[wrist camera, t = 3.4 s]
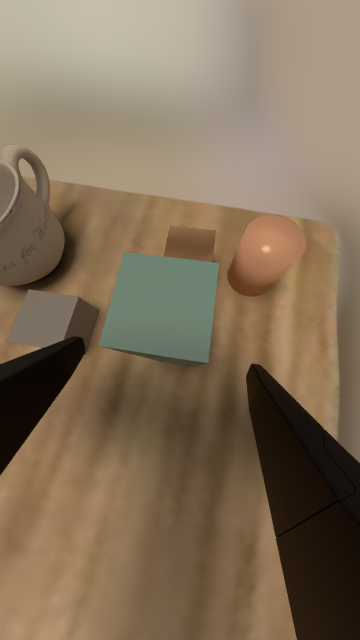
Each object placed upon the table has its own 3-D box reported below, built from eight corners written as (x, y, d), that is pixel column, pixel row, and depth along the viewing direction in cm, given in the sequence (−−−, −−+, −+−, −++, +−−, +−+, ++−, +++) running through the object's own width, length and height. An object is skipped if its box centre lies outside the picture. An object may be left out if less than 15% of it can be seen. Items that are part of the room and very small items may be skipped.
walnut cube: (205, 292, 20) (210, 271, 15) (167, 287, 20) (161, 265, 16) (209, 258, 21) (216, 230, 17) (173, 254, 21) (170, 225, 17)
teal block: (193, 366, 17) (208, 363, 6) (155, 360, 18) (98, 345, 6) (198, 328, 19) (219, 263, 7) (162, 323, 19) (124, 252, 7)
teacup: (35, 313, 20) (-63, 278, 12) (-25, 269, 22) (-142, 215, 14) (110, 227, 23) (71, 155, 15) (51, 196, 24) (-10, 117, 17)
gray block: (85, 354, 18) (59, 350, 15) (42, 346, 19) (5, 341, 15) (99, 310, 20) (78, 296, 16) (59, 304, 20) (29, 289, 16)
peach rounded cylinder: (280, 275, 20) (318, 237, 14) (253, 304, 19) (282, 277, 13) (245, 250, 21) (268, 205, 15) (218, 277, 20) (231, 241, 14)
